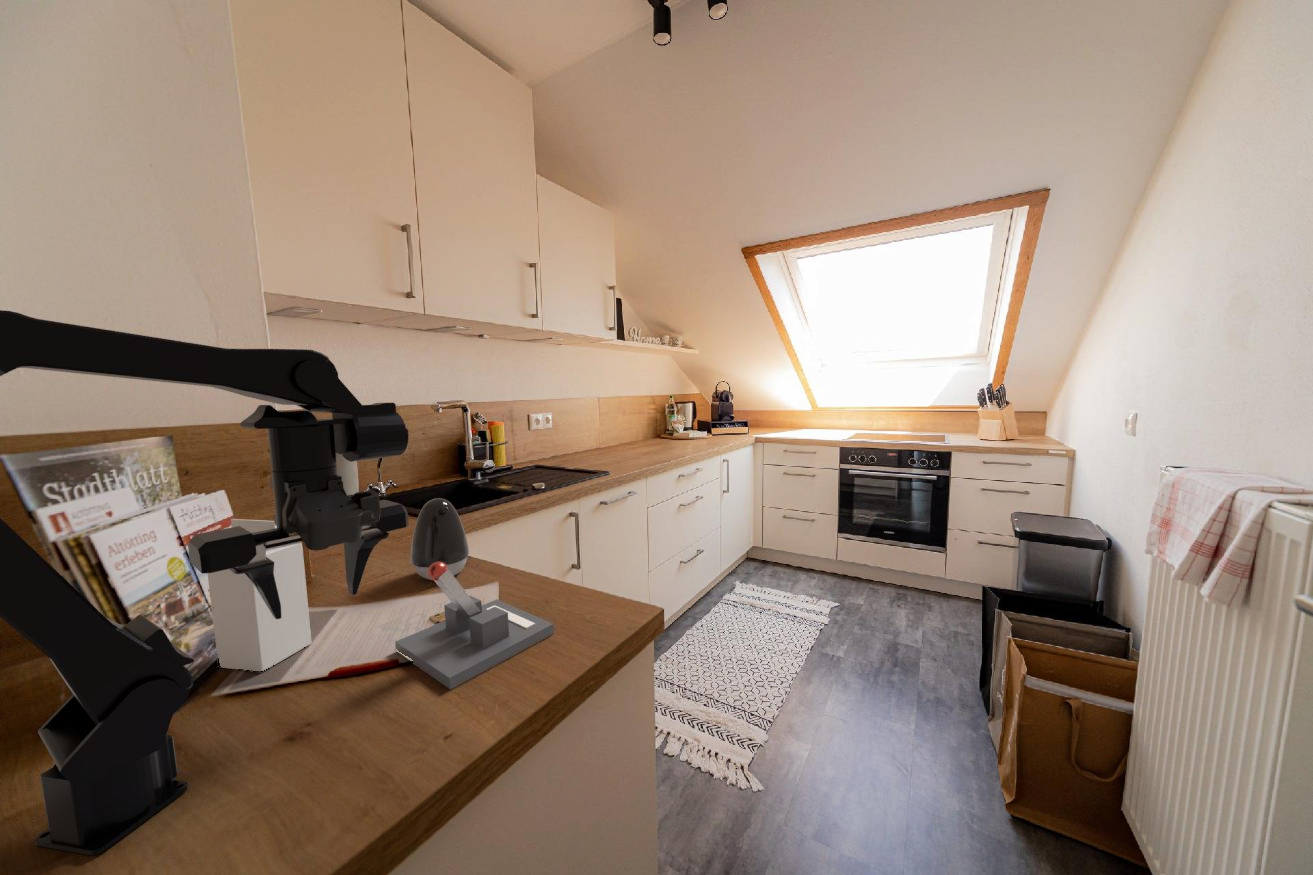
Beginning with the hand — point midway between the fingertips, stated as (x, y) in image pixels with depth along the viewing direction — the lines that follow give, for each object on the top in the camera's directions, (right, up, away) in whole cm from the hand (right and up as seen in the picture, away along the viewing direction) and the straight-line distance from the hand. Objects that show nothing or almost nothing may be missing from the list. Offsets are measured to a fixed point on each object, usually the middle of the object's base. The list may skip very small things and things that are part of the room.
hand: (317, 605), depth 53 cm
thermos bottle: (-39, -6, +64) cm, 75 cm away
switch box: (+12, -10, +14) cm, 22 cm away
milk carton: (-15, -11, +12) cm, 22 cm away
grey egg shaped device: (-4, -8, +39) cm, 40 cm away
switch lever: (+12, -7, +14) cm, 20 cm away
